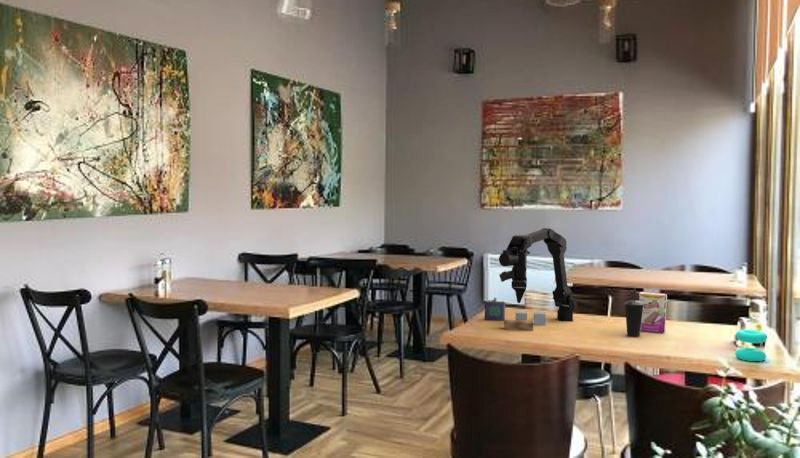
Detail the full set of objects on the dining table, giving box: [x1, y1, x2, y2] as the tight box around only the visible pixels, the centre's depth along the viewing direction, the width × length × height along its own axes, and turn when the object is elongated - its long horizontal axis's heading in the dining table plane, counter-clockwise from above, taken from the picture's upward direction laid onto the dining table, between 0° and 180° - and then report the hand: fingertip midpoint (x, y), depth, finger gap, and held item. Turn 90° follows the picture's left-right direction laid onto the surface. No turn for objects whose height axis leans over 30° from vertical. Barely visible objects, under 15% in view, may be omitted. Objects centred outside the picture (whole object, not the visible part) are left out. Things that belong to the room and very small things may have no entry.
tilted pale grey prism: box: [514, 310, 528, 321], centre depth 306 cm, size 5×5×5 cm
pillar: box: [533, 311, 546, 327], centre depth 305 cm, size 5×5×5 cm
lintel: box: [503, 319, 534, 332], centre depth 294 cm, size 12×5×4 cm, turn 83°
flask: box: [484, 297, 506, 322], centre depth 313 cm, size 9×3×11 cm, turn 88°
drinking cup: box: [624, 287, 644, 338], centre depth 284 cm, size 8×8×20 cm
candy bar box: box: [638, 291, 668, 334], centre depth 293 cm, size 11×5×16 cm, turn 65°
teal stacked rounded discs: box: [734, 329, 768, 362], centre depth 247 cm, size 10×10×10 cm
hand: (518, 301), depth 293 cm, fingers open, 9 cm apart
